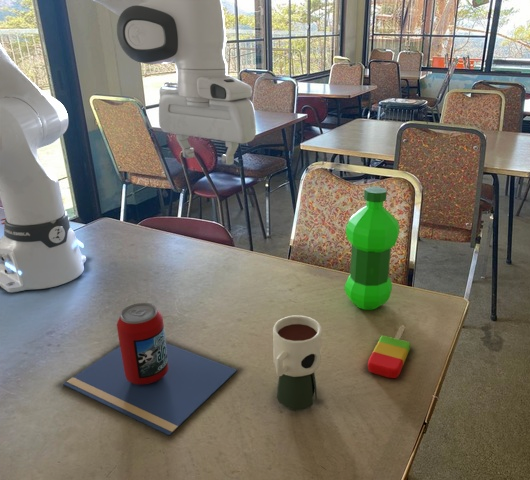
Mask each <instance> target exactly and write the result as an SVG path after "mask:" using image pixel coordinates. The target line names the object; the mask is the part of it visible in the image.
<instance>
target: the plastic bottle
mask: <svg viewBox="0 0 530 480" xmlns="http://www.w3.org/2000/svg"><path fill="white" fill-rule="evenodd" d="M387 195H388V189H386V188H384V187H381V186H368V187H365V189H364V193H363V199H364V200H365V201H366V204H365V206H363V207H361V208H360V209H359V210H358V211H356V212H355V213H354V214H352V215H351V217H350V218H349V220H348V221H347V224H346V226H345V235H346V240H347V241H348V242H349V243H350V244H351V251H350V252H351V254H350V271H349V275H348V277H347V279H346V282H345V283H344V292H345V295H346V296H347V297H348V298H349V300H350V301H351V302H352V303H353V304H354V305H355V307H357V308H358V309H362V310H365V311H366V310H367V311H369V310H371V311H373V310H375V309H378V308H379V307H380V306H382V305H384V304H386V303H387V302H388V301H389V299H390V297H391V294H392V290H393V283H392V280H391V278H390V276H389V275H390V264H391V263H390V262H391V255H392V248H393V247H395V246H396V244H397V240H398V238H399V234H400V224H399V220H398V219H397V218H395V216H394V215H393V214H392V213H390V212H389V211H388V210H387V209H386V208H385V206H384V202H386V201H387Z"/></svg>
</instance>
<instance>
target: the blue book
mask: <svg viewBox="0 0 530 480" xmlns="http://www.w3.org/2000/svg"><path fill="white" fill-rule="evenodd" d="M166 348H167V357H168V366H169V368H168V371H167V373H166V374H165V376H163V377H162V378H161V379H159V380H158V381H155V382H153V383H150V384H142V385H140V384H134V383H131V382H129V381H128V380H127V379H126V377H125V371H124V366H123V360H122V355H121V349H120V345H119V346H118V347H116V348H114V349H113V350H111V351H110V352H108V353H107V354H105V355H104V356H103V357H101V358H99V359H98V360H97V361H95V362H94V363H92V364H90V365H89V366H88V367H86V368H84V369H83V370H81V371H80V372H79V373H77V374H76V375H74V376H72V377H70V378H69V379H68V380H66V381H65V382H64V383H62V386H65V387H67V388H69V389H71V390H73V391H75V392H77V393H79V394H81V395H83V396H86V397H88V398H90V399H92V400H94V401H96V402H98V403H100V404H102V405H104V406H107V407H108V408H110V409H112V410H114V411H117V412H119V413H120V414H123V415H125V416H127V417H129V418H131V419H133V420H135V421H138V422H139V423H142V424H144V425H146V426H148V427H149V428H152V429H154V430H156V431H158V432H159V433H162V434H164V435H166V436H171V435H172V434H173V433H174V432H175V431H176V430H177V429H178V428H179V427H180V426H181V425H182V424H183V423H185V421H187V419H189V418H190V417H191V416H192V415H193V414H194V413H195V412H196V411H197V410H198V409H199V408H200V407H201V406H202V405H203V404H204V403H205V402H206V401H207V400H208V399H210V397H212V396H213V395H214V394H215V392H217V391H218V390H219V389H220V388H221V387H222V386H223V385H224V384H225V383H226V382H227V381H228V380H229V379H231V377H233V376H234V374H235V373H237V372H238V369H236V368H233V367H231V366H228V365H225V364H223V363H220V362H217V361H215V360H213V359H209V358H207V357H205V356H202V355H200V354H196V353H194V352H192V351H189V350H186V349H183V348H181V347H178V346H176V345H173V344H170V343H168V342H166Z"/></svg>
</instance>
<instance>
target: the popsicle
mask: <svg viewBox="0 0 530 480" xmlns="http://www.w3.org/2000/svg"><path fill="white" fill-rule="evenodd" d="M405 329H406V325H402V324H400V326H399V327H398V330H397V331H396V333H395V336H394V337H391V336H387V335H383V334H382V335H381V336H380V338H379V339H378V342H377V343H376V345H375V346H374V349H373V351H372V353H371V355H370V356H369V359H368V361H367V370H368V372H370V373H371V374H374V375H378V376H381V377H384V378H385V377H386V378H388V379H397V378H398V377H399V376H400V374H401V372H402V369H403V366H404V365H405V362H406V359H407V357H408V355H409V352H410V350H411V342H409V341H406V340H403V339H401V338H402V336H403V334H404V332H405Z"/></svg>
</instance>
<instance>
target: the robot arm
mask: <svg viewBox="0 0 530 480" xmlns="http://www.w3.org/2000/svg"><path fill="white" fill-rule="evenodd" d="M91 2H95V3H97V4H99V5H101V6H103V7H104V8H106V9H107V10H109V11H111V12H112V13H114V14H115V15H116V16H118V19H117V23H116V36H117V41H118V43H119V46H120V48H121V49H122V51H123V52H124V54H126V56H127V57H129V58H130V59H131V60H133V61H134V62H137V63H141V64H145V65H160V64H161V65H163V64H169V63H170V64H175V71H176V81H177V82H171V81H166V82H164V83H163V84H162V85H161V86H160V88H159V102H158V123H159V124H158V125H159V127H160V129H161V130H162V132H163V133H169V134H175V138H176V139H175V140H176V141H177V144H178V145H179V146H180V149H181V150H182V151H181V152H182V157H183V158H185V159H192V158H194V157H195V156H196V155H195V148H194V147H191V143H190V142H189V140H188V139H190V137H196V138H202V139H208V140H217V141H220V142H221V141H222V142H224V143H225V148H227V150H226V152H225V154H221V164H223V165H226V166H232V165H234V163H235V153H236V151H237V150H238V148H239V144H247V143H250V142H252V141H253V140H254V138H255V137H256V135H257V125H256V113H255V107H254V104H253V103H252V101H251V99H249V98H251V97H252V96H253V88H252V86H251V85H250V84H249V83H246V82H244V81H242V80H239V79H237V78H236V77H234V76H233V75H230V74H228V64H227V61H226V58H225V48H226V43H227V37H226V25H225V15H224V10H223V4H222V0H91ZM69 121H70V120H69V115H68V113H67V110H66V108H65V106H64V105H63V104H62V103H61V102H60V101H59V100H58V99H57V98H55V97H54V96H52V95H50V94H48V93H46V92H44V91H43V90H42V89H41V88H39V87H38V86H37V85H36V84H35V83H34V82H33V81H32V80H31V79H30V78H29V77H28V76H27V75H26V74H25V73H24V72H23V71H22V70H21V69H20V68H19V66H18V65H16V63H15V62H14V61H13V59H12V58H11V57H10V55H9V54H8V53H7V51H6V50H5V48H4V47H3V46H2V44H1V43H0V201H1V205H2V208H3V212H4V216H5V218H1V219H0V221H1V225H4V226H3V236H2V237H0V287H1V288H2V289H3V290H4V291H6V292H7V293H18V292H22V291H28V290H29V291H30V290H45V289H49V288H54V287H58V286H61V285H65V284H67V283H70V282H71V281H74V280H75V279H77V278H79V277H80V276H81V275H82V274H83V273H84V271H85V266H84V265H85V263H86V261H87V257H86V255H84V254H82V253H81V250H80V248H82V249H83V248H84V247H85V245H84V243H83V242H81V241H80V240H79V239H78V238H77V236H76V233H75V231H74V230H73V229H72V228H71V224H70V217H69V214H68V212H67V211H66V210H65V206H64V201H63V196H62V191H61V186H60V182H59V179H58V177H57V176H56V175H55V174H53V173H52V172H50V171H48V170H46V168H45V167H44V166H43V164H42V162H41V160H40V158H39V154H38V149H40V148H41V149H42V148H44V147H46V146H49V145H52V144H53V143H55V142H56V141H58V139H59V138H61V137H62V136H63V135H65V133H66V132H67V130H68V129H69Z"/></svg>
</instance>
